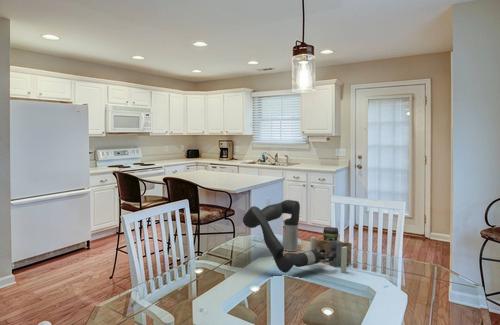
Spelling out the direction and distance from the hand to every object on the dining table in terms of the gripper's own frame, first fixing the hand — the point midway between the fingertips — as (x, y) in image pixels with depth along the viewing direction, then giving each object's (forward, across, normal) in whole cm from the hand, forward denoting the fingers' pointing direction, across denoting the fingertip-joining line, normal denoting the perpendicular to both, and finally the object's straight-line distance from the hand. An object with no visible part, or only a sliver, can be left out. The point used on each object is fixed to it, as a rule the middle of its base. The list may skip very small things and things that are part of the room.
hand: (330, 253), depth 190 cm
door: (+7, -4, -7) cm, 11 cm away
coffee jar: (+15, -14, -8) cm, 22 cm away
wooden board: (0, -2, -8) cm, 8 cm away
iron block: (+5, 0, -8) cm, 10 cm away
